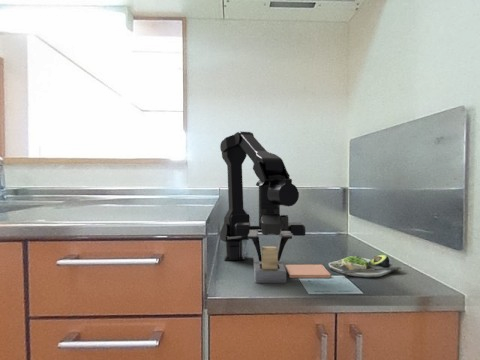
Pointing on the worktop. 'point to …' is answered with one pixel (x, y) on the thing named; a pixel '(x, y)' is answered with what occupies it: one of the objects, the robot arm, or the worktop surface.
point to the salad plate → (364, 266)
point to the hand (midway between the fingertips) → (269, 260)
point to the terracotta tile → (307, 271)
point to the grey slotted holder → (268, 272)
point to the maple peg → (269, 258)
